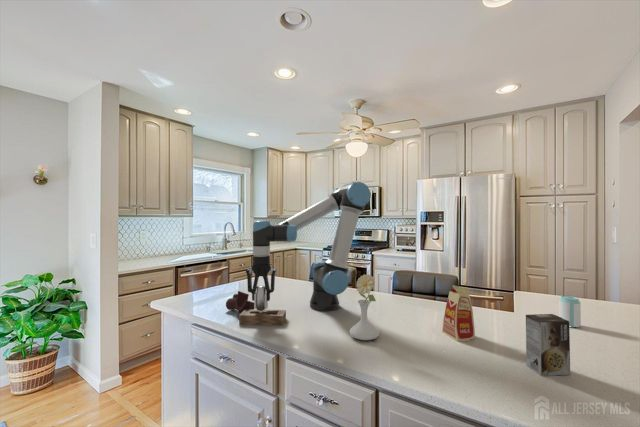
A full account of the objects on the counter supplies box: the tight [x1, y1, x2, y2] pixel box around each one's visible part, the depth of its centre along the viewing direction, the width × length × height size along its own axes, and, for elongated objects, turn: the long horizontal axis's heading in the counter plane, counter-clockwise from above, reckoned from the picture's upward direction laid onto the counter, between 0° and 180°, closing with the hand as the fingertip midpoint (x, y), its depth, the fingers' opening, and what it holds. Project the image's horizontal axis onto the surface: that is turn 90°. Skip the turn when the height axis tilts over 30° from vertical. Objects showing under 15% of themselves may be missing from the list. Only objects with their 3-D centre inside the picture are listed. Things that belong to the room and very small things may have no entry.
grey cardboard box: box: [525, 313, 571, 377], centre depth 89 cm, size 9×6×16 cm
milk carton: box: [441, 284, 476, 342], centre depth 115 cm, size 9×9×20 cm
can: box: [558, 295, 582, 328], centre depth 125 cm, size 7×7×12 cm
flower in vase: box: [349, 273, 380, 341], centre depth 113 cm, size 13×11×25 cm
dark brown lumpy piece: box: [225, 290, 254, 314], centre depth 141 cm, size 6×17×10 cm, turn 54°
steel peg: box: [255, 285, 266, 314], centre depth 130 cm, size 4×4×14 cm
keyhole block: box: [238, 309, 287, 326], centre depth 130 cm, size 19×8×4 cm, turn 87°
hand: (261, 307), depth 130 cm, fingers closed on steel peg, 4 cm apart
